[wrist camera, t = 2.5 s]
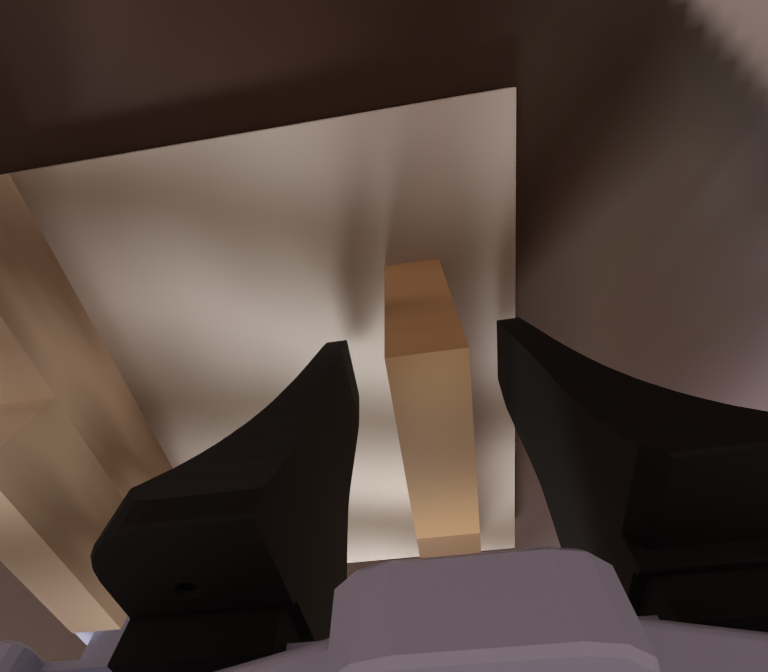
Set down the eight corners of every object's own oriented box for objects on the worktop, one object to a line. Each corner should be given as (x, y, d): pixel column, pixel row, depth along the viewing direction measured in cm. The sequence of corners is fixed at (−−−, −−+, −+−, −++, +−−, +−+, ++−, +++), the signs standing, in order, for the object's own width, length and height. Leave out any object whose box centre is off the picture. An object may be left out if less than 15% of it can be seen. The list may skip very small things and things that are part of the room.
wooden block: (465, 552, 19) (489, 686, 15) (430, 555, 19) (443, 689, 15) (439, 258, 12) (469, 347, 8) (384, 266, 12) (384, 358, 8)
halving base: (508, 527, 20) (553, 682, 15) (108, 565, 21) (18, 718, 16) (506, 87, 11) (615, 80, 6) (-177, 204, 12) (-582, 281, 7)
